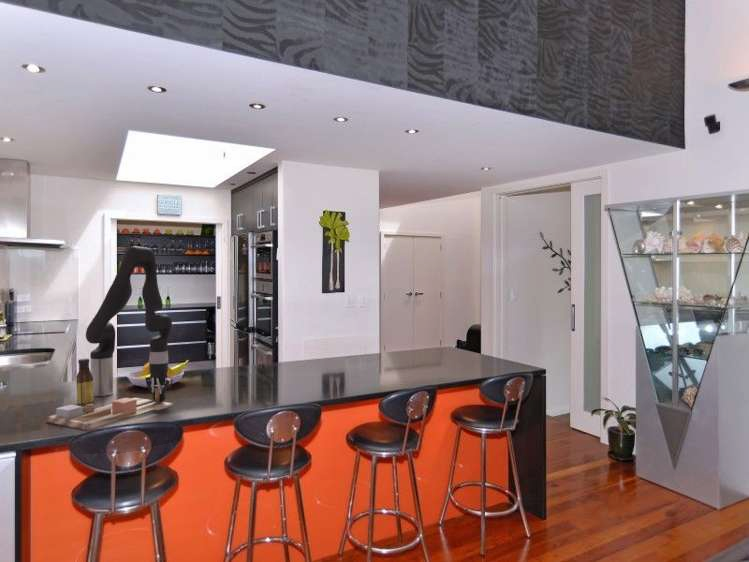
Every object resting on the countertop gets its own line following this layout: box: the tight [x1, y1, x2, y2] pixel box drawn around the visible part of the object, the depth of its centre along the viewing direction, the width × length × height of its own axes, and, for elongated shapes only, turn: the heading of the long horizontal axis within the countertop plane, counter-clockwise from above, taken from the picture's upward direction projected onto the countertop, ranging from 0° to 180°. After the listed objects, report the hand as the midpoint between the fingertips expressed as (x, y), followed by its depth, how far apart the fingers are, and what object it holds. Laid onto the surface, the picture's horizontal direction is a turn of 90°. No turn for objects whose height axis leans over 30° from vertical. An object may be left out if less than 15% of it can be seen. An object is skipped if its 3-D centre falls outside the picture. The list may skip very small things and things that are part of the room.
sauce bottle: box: [75, 358, 95, 406], centre depth 221 cm, size 6×6×20 cm
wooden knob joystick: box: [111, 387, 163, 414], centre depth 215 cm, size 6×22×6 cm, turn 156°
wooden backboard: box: [46, 397, 174, 431], centre depth 209 cm, size 22×40×3 cm, turn 156°
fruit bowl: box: [126, 359, 190, 389], centre depth 261 cm, size 28×27×11 cm
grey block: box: [55, 403, 95, 419], centre depth 200 cm, size 6×13×5 cm, turn 156°
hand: (158, 401), depth 224 cm, fingers closed on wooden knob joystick, 3 cm apart
